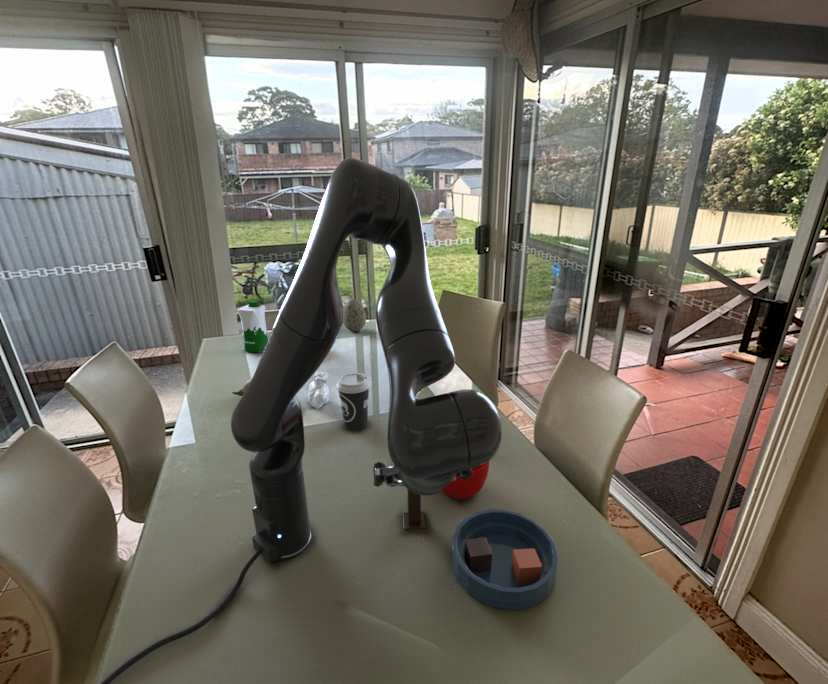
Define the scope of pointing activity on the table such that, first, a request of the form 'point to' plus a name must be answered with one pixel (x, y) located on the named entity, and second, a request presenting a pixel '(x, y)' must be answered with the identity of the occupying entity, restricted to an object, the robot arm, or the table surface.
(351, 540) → the table surface
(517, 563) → the terracotta block
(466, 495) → the ceramic cup
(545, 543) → the bowl
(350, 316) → the decorative egg
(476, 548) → the walnut block
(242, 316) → the soya milk
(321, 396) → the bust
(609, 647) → the table surface
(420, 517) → the wooden post with base
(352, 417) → the coffee cup
